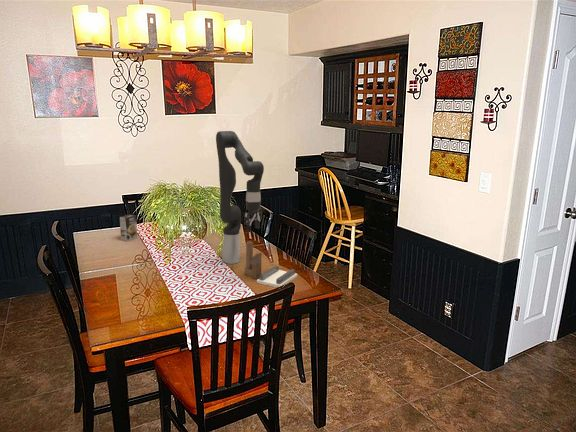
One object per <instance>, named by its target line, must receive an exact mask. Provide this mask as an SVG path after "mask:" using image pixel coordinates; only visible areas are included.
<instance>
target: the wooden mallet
mask: <svg viewBox="0 0 576 432" xmlns="http://www.w3.org/2000/svg"><path fill="white" fill-rule="evenodd" d="M245 246H246V248H245V252H246V254H245V267H244V274H246V275H247V276H249V277H251V278H253V279H255V280H258V279H259V275H261V274H262V257H263V256H262V252H259V253H255V255H254V242H253V241H246V242H245Z"/></svg>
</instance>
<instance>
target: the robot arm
mask: <svg viewBox="0 0 576 432" xmlns="http://www.w3.org/2000/svg"><path fill="white" fill-rule="evenodd" d="M215 144H216V150H217V151H216V152H217V159H218V177H219V178H218V179H219V189H220V190H219V191H220V192H219V194H220V199H219V200H220V203H219V205H220V206H219V217H220V220H221V221H222V223H225V224H227V225H226V226H224V227H223V230H222V232H223V237H222V238H223V245H222V246H221V260H222V262H224V264H230V265H231V264H232V265H233V264H234V265H235V264H237V263H239V262H240V230H241V227H242V225H241V224H242V210H241V209H240V207H239V206H238V205H236V204H234V205H233V204H231V198H232V196H233V193H234V190H235V188H236V185H237V173H236V169H235V167H234V166H233V165H232V163H231V162H230V160H229V158H228V156H227V152H226V149H231V148H233V149H235V150H234V157H235V159H236V161H237V162H238V163H239V164H240V165H241V168H242V169H241V170H242V172H243V174H244V175H245V176H249V177H250V176H253V177H252V178H251V179H249V180H247V181H246V194H245V209H246V210H247V212H244V213H243V225H246V232H247V233H252V223H253V221H254V220H255V222H254V226H255V229H260V227H261V226H260V225H261V224H260V223H261V221H262V220H263V208H261V207H262V206H261V204H262V203H261V199H262V198H261V196H262V195H261V183H262V178H263V175H264V171H265V166H264V164H263V163H262V162H261V161H259V160H257V161H254V158H253V156H252V154H250V153H249V151H248V150H246V148H245V147H244V145H243V143H242V141H241V139H240V138H239V135H237V133H236V132H235V131H233V130H224V131H223V130H220V131H217V132H216V135H215Z"/></svg>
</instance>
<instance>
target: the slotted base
mask: <svg viewBox="0 0 576 432" xmlns="http://www.w3.org/2000/svg"><path fill="white" fill-rule="evenodd" d="M296 278H298V273H296V270H295V269H293V268H292V269H289V270H288V271H286V270H282V269H280V267H279V266H278V265H274V266H273V267H271V268H269V269H268V270H266V271H264V272H262V273H261V275H259V279H256V283H257V284H260V285H265V286H269V287H272V288H273V287H274V288H277V287H280V286H282V285H284V284H286V285H288V284H289V283H291V282H292V281H293V280H295V279H296ZM284 286H285V285H284Z"/></svg>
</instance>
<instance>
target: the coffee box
mask: <svg viewBox="0 0 576 432" xmlns="http://www.w3.org/2000/svg"><path fill="white" fill-rule="evenodd" d="M137 221H138V220H137V215H135V214H126V215H123V216H119V226H120V240H121V241H124V242H129V241H133V240H136V239H138V225H137V224H138V223H137Z"/></svg>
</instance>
